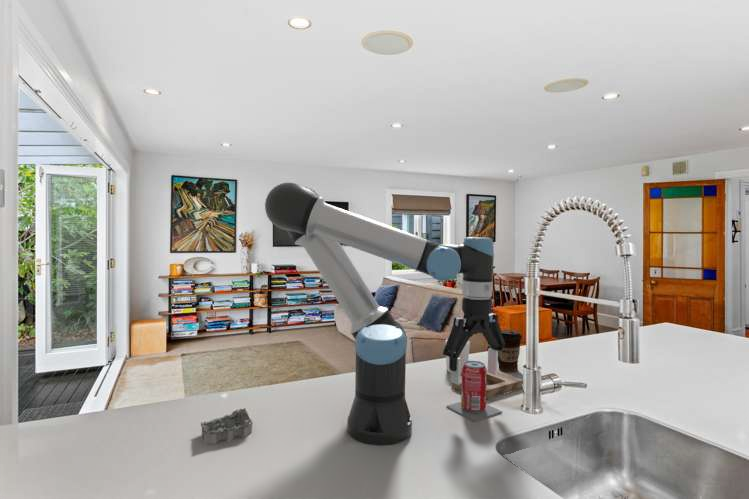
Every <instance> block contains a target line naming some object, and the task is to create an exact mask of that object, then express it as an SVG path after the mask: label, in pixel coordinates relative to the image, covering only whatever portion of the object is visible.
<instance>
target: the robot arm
mask: <svg viewBox="0 0 749 499" xmlns="http://www.w3.org/2000/svg"><path fill="white" fill-rule="evenodd" d="M264 209H265V210H264V211H265V213H266V216H267V217H266V218H268V219H269V221H270V222H271V223H272V225H274V226H275V227H277V228H278V229H280V230H284V231H285V232H287V234H288V235H289V237H290V238H291V240H292V242H293V243H294V244H295V246H296V245H297V246H301V247H303V248H304V249H305V250H304V251H306V253H307V255H308V256H309V257H310V259H311V260H312V262H313V264H314V266H315V267H316V269H317V270H318V273H320V275H321V277H322V279H323V280H324V282H325V283H326V284H327V286H328V288H329V289H330V291H331V293H332V294H333V296H334V297H335V299H336V301H337V302H338V304H339V305H340V307H341V309H342V311H343V312H344V314H345V315H346V317H347V318H348V319H349V321H350V323H351V327H350V333H351V335H352V337H353V339H354V340H355V342H354V349H355V380H354V381H355V382H354V384H355V385H354V386H355V389H354V390H355V393H354V394H355V396H354V399H353V401H352V405H351V408H350V411H349V414H348V416H347V421H346V422H347V426H346V427H347V428H346V429H347V430H346V431H347V433H348V434H349V436H351V437H352V438H353V439H354V440H357V441H360V442H361V443H365V444H369V445H380V446H381V445H382V446H383V445H393V444H397V443H399V442H402V441H404V440H406V439H407V438H409V437H410V435H411V434H412V431H413V430H412V429H413V421H412V420H413V419H412V417H411V413H410V410H409V407H408V402H407V400H406V369H407V368H406V367H407V366H406V364H407V362H406V361H407V360H406V359H407V358H406V357H407V347H408V339H407V337H408V336H407V334H406V333H407V332H405V329H404V328H403V326H402V325H401V324H400V322H398V321H397V320H396V319H395V317H394V316H393V315H392V313H391V312H390V310H389V309H388V307H385V306H381V305H379V303H378V302H377V300H376V298H375V297H374V295H373V294H372V292H371V291H370V289H369V287H368V286H367V284H366V282H365V281H364V280H363V277H362V276H361V274H360V273H359V272H358V270H357V268H356V267H355V265H354V263H353V262H352V260H351V258H350V257H349V255H348V254H347V252H346V251H345V249H344V248H343V246H342V245H345V246H348V247H351V248H353V249H357V250H359V251H361V252H365V253H367V254H371V255H373V256H377V257H379V258H382V259H384V260H387V261H389V262H393V263H395V264H398V265H401V266H404V267H406V268H408V269H412V270H414V271H417V272H418V273H423V274H425V275H427V276H430V277H432V278H433V279H434V280H437V281H440V282H441V281H442V282H447V281H450V280H453V279H454V278H456V277H457V275H460V274H462V289H461V290H462V292H461V293H462V296H463V297H461V311H462V312H463V318H462V317H457V316H456V317H453V325H452V328H451V329H450V333H449V336H448V338H447V339H448V341H447V343H446V342H445V347H444V349H443V351H442V354H443V355H444V356H445V357H446V356H448V357H449V358H450V360H449V369H450V370H451V373H450V381H449V382H450V383H452V382H453V383H455V384H457V385H459V384H460V377H461V374H460V372H461V358H458V357H459V355H460V354H461V352H462V350H463V348H464V347H465V345H466V343H467V342H468V341H470V339H471V338H472V337H473V336H474V335H478V334H482V336H483V337H484V338H485V340H486V342H487V343H488V346H490V347H489V348H488V350H487V370H488V373H491V374H493V375H497V371H498V369H499V364H498V360H499V350H500V351H502V350H503V347H504V346H505V342H504V338H503V335H502V332H501V330H502V329H501V327H500V323H499V314H497V313H493V307H492V306H493V300H492V298H491V297H492V296H493V277H494V276H493V275H494V261H495V260H494V258H495V254H494V252H495V251H494V241H493V239H492V238H491V237H483V236H482V237H479V236H469V237H468V236H467V237H464V239H463V243H462V244H445V243H444V244H443V243H438V242H436V241H432V240H429V239H427V238H424V237H421V236H418V235H416V234H413V233H409V232H407V231H404V230H401V229H399V228H396V227H393V226H390V225H387V224H385V223H382V222H379V221H376V220H373V219H371V218H368V217H365V216H362V215H360V214H356V213H353V212H351V211H349V210H345V209H343V208H340V207H337V206H334V205H332V204H328V203H326V200H324V197H322V196H320V195H319V194H318V193H317V192H316V191H315V190H313V189H312V188H310V187H307V186H304V185H301V184H298V183H295V182H284V183H280V184H277V185H276V186H274V187H273V188H272V189H271V190H270V191H269V192H268V194H267V196H266V198H265V203H264ZM341 244H342V245H341ZM454 352H455V353H454Z"/></svg>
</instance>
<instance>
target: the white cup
mask: <svg viewBox="0 0 749 499" xmlns="http://www.w3.org/2000/svg"><path fill="white" fill-rule="evenodd" d="M447 341H448V338H446V339H445V344H446V343H447ZM470 343H471V341H470V340H468V342H467V343H466V345H465V347H464V348H463V350H462V352H461V354H460V355H459V357H458V358H461V372H460V375H462V367H463V365H464V362H466V361H469V357H470V356H469V355H470V346H471V344H470ZM454 353H455V352H454ZM445 359H446V360H445V362H446V371H447V372H449V373H450V374H451V370H450V369H449V360H450V358H449V357H448V356H446V355H445Z"/></svg>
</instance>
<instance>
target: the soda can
mask: <svg viewBox="0 0 749 499" xmlns="http://www.w3.org/2000/svg"><path fill="white" fill-rule="evenodd" d="M487 370H488V368H487V366H486V364H485V363H483V362H481V361H477V360H468V361H466V362H464V365H463V367H462V374H461V377H462V391H461V394H460V395H461V397H460V402H461V406H462V407H463V409H464V410H466V411H468V412H472V413H479V412H482V411H483V410H484V409H485V407H486V404H487V399H486V385H487V382H486V381H487Z"/></svg>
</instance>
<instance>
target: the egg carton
mask: <svg viewBox="0 0 749 499" xmlns="http://www.w3.org/2000/svg"><path fill="white" fill-rule="evenodd" d="M253 425H254V423H253V421H252V419H251V418H250V416H249V413H248V411H247V409H246V407H244V408H240V409H236V410H234V411H232V413H231V414H226V415H224V416H221V417H218V418H214V419H211V420H210V421H207V422H206V421H204V422H203V421H202V422H200V427H201V437H202V438H204V439H203V440H204V444H211V445H215V444H217V443H218V442H219V441H221V440H227V441H228V442H229V441H233V440H234V438H236V437H239V436H240V437H243V438H245V437H248V436H249V434H251V433H252V432H253Z"/></svg>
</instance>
